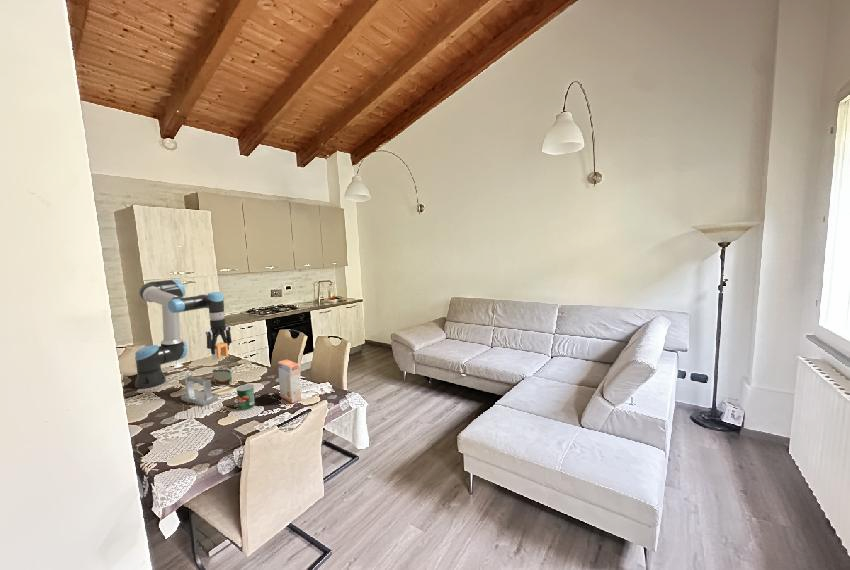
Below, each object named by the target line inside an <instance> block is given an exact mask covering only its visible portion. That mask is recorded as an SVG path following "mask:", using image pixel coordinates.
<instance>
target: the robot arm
mask: <svg viewBox="0 0 850 570" xmlns="http://www.w3.org/2000/svg"><path fill="white" fill-rule="evenodd" d="M138 295H139V296H140V299H142V300H143V301H145V302H147V303H156V304H158V305H161V309H162V310H161V311H162V333H163V335H162V336H163V340H162V341H160V345H157V344H152V345H147V346H144V347H141V348H139V349H138V350H136V352H135V353H134V354H135V356H134V357H135V358H134V359H135V366H136V374H137V376H136V378H135V381H134V382H135V383H134V386H135V388H136V389H141V390H142V389H149V388H153V387H157V386H160V385H162V384H164V383H166V381H167V379H166V376H165V374H164V372H163V371H162V367H161V366H162V365H165V364H168V363H172V362H176V361H177V360H178V361H179V360H182V359H184V358H185V357H186V356H187V353H188V345H187V343H186V342H185V341H184V340H183V339H182V338H181V334H180V331H181V330H180V315H179V314H180V313H183V312H188V311H195V310H200V309H208V315H209V316H208V317H209V326H210V329H209V330H208V331H205V335H206V349H208V350H210V353H211V355H212V359H213V360H214V361H218V359H217V350H216V349H215V345H216V344H217V340H218V337H219V336H220V337H221V339H222V341H223V342H222V343H227V345H228V351H229V350H230V348H229V346H230V344H232V343H233V341H232V335H231V327H230V326H226V319H225V317H226V316H225V305H224V304H225V303H224V295H223V293H222V292H221V291H213V292H209V293H207V294H199V295H195V296H189V297H185V295H186V288H185V285H184V284H183V282H182V281H180V280H179V279H165V280H156V281H149V282H146V283H144V284H143V285H142V286H141V287H140V288H139V291H138Z"/></svg>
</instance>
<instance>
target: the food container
mask: <svg viewBox="0 0 850 570" xmlns="http://www.w3.org/2000/svg"><path fill="white" fill-rule="evenodd" d="M211 371H212V372H211V373H213V378H214V379H213V380H214V384H215V385H217V386H231V385H232V377H233V376H232V375H233V371H234V369H233V368H232V366H229V365H225V366H218V367H214V368H213V369H212V370H211Z"/></svg>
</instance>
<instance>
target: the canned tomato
mask: <svg viewBox="0 0 850 570" xmlns="http://www.w3.org/2000/svg"><path fill="white" fill-rule="evenodd" d="M236 389H237V390H236V392H237V395H236V396H237V407H238V410H239V411H242V412H243V411H248V410H251V409H253V408H254V407H255V406H256V404H255V389H254V385H253V384H243V385H240V386H238V387H237V388H236Z"/></svg>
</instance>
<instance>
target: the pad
mask: <svg viewBox="0 0 850 570" xmlns="http://www.w3.org/2000/svg"><path fill="white" fill-rule="evenodd" d="M235 391H237V388H236V387H231V386H229V385H224V386H221V387H220V388H217V389H215V390H212V395H216V396H218V397H223V396H226V395H228V394H230V393H233V392H235Z"/></svg>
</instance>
